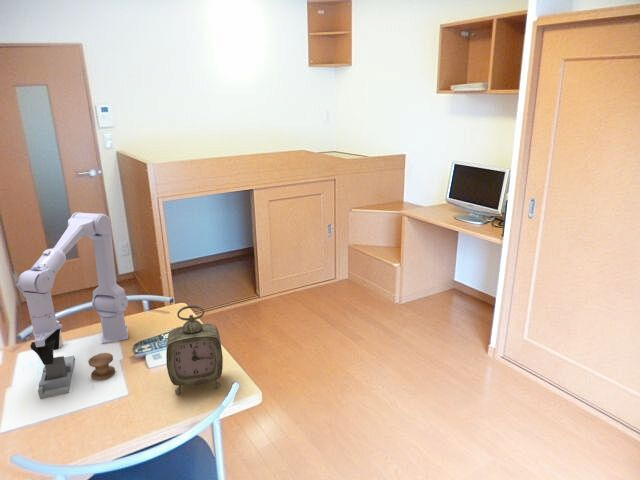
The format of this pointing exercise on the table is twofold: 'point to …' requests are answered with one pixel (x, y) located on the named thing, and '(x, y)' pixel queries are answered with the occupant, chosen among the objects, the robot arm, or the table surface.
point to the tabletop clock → (194, 352)
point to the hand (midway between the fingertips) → (51, 356)
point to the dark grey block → (56, 368)
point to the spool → (102, 366)
